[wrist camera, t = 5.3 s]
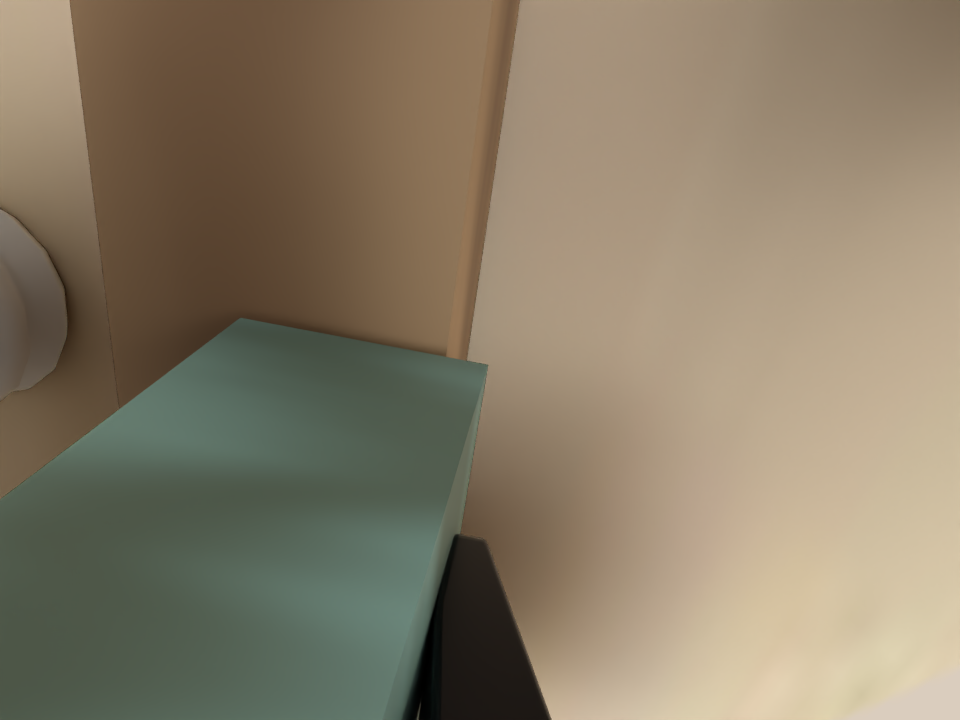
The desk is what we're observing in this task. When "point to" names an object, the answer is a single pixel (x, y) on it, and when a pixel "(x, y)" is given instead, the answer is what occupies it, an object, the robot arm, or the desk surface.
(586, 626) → the desk surface
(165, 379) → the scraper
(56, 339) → the rook chess piece
